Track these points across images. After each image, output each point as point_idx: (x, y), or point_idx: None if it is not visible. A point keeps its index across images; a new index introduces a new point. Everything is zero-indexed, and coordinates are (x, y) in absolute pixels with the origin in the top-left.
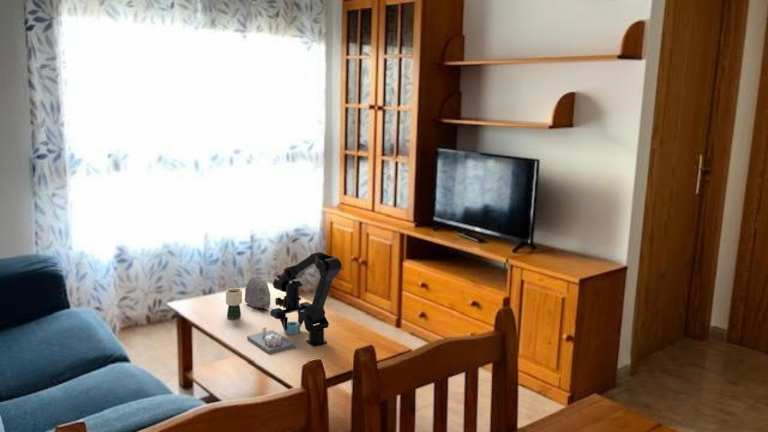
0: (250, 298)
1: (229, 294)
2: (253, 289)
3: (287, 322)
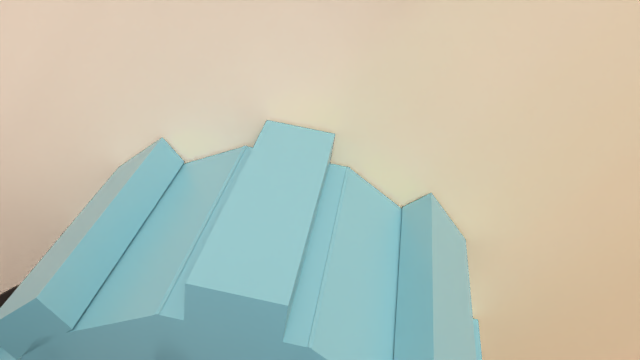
0: None
1: None
2: None
3: (155, 330)
